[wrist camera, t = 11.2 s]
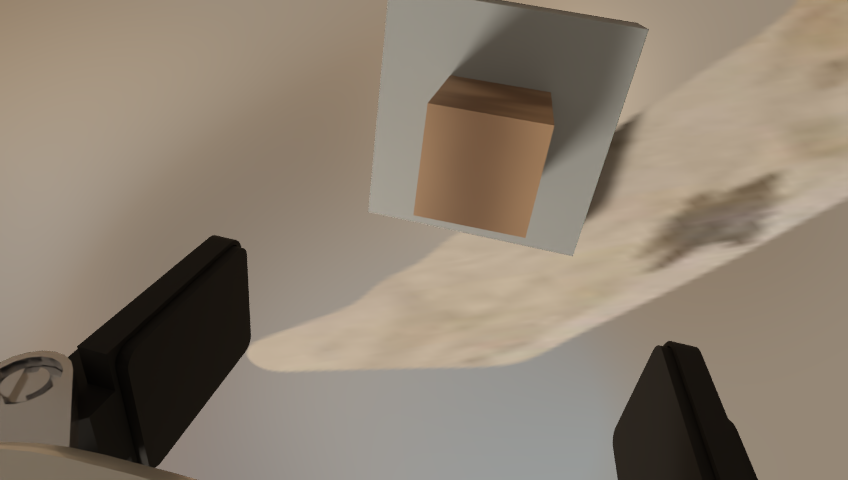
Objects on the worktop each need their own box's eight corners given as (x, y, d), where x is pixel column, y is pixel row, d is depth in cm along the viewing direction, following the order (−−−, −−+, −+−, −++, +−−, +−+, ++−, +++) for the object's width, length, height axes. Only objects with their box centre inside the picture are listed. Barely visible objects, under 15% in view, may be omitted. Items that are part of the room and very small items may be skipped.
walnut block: (550, 92, 25) (554, 125, 19) (527, 186, 27) (525, 238, 22) (450, 75, 25) (427, 102, 20) (436, 168, 28) (413, 215, 22)
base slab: (637, 23, 25) (648, 29, 22) (569, 232, 31) (572, 256, 28) (403, -16, 26) (389, -15, 24) (381, 192, 32) (368, 211, 30)
